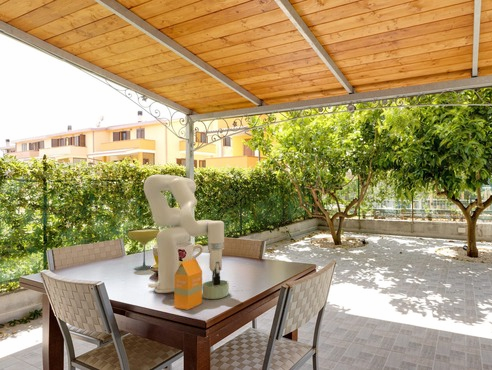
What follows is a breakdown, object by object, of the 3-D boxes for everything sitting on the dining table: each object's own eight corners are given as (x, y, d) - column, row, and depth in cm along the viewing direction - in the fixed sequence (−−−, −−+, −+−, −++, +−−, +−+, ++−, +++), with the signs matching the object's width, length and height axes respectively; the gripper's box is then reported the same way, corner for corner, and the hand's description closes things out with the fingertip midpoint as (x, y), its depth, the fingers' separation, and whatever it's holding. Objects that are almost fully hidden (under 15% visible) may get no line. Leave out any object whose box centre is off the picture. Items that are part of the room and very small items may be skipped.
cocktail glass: (137, 273, 196) (137, 232, 196) (122, 269, 206) (122, 230, 206) (165, 267, 211) (165, 229, 211) (150, 263, 221) (150, 227, 221)
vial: (212, 292, 152) (212, 273, 152) (212, 290, 155) (212, 272, 156) (220, 291, 154) (220, 272, 154) (219, 289, 157) (219, 271, 157)
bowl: (203, 301, 147) (203, 288, 147) (201, 293, 158) (201, 281, 158) (230, 297, 152) (230, 285, 152) (226, 290, 163) (226, 278, 163)
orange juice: (174, 307, 139) (174, 261, 140) (188, 300, 147) (189, 257, 148) (188, 309, 136) (188, 263, 137) (202, 303, 145) (202, 259, 145)
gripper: (206, 244, 161) (206, 280, 161) (209, 249, 146) (209, 289, 146) (221, 243, 164) (221, 278, 164) (226, 248, 149) (226, 287, 149)
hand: (216, 283), depth 155 cm, fingers closed on vial, 3 cm apart
